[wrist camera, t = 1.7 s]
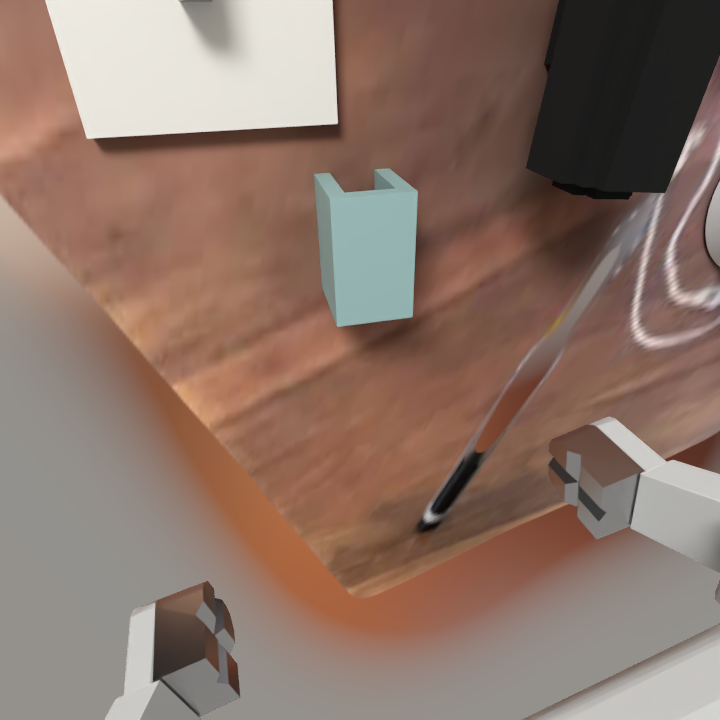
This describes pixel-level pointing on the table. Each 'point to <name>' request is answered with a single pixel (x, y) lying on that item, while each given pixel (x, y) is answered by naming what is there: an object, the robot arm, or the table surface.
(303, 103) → the stub plate
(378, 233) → the jaw block
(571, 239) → the table surface
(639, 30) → the security camera
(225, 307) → the table surface
